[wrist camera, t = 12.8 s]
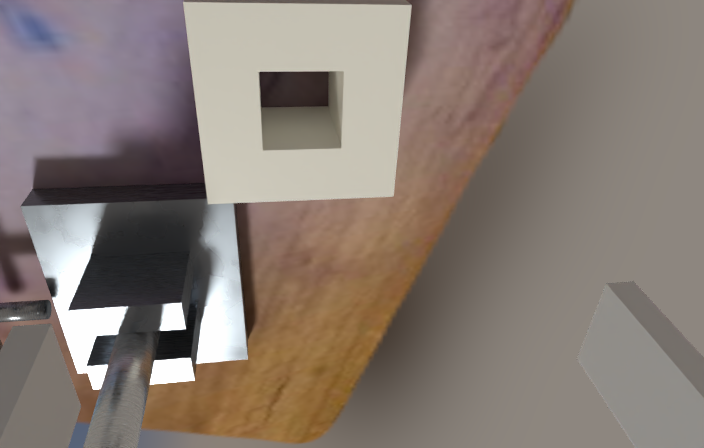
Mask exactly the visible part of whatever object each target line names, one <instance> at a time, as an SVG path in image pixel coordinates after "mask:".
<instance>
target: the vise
mask: <svg viewBox="0 0 704 448" xmlns="http://www.w3.org/2000/svg"><path fill="white" fill-rule="evenodd" d="M21 209H22V212H23V215H24V218H25V221H26V224H27V226H28V229H29V232H30V235H31V238H32V241H33V244H34V247H35V250H36V253H37V256H38V259H39V261H40V264H41V267H42V270H43V273H44V276H45V279H46V282H47V285H48V288H49V291H50V293H51V296H52V299H53V302H54V305H55V308H56V311H57V314H58V317H59V320H60V323H61V326H62V328H63V331H64V334H65V337H66V340H67V343H68V346H69V349H70V352H71V355H72V358H73V361H74V363H75V366H76V369H77V372H78V373H88V375H89V378H90V381H91V384H92V387H93V389H100V393H99V396H98V399H97V403H96V406H95V410H94V413H93V416H92V420H91V423H90V426H89V430H88V433H87V437H86V440H85V443H84V447H83V448H137V445H138V440H139V435H140V431H141V426H142V421H143V416H144V411H145V406H146V401H147V396H148V391H149V386H150V384H159V383H171V382H182V381H193V380H195V372H196V364H197V363H208V362H219V361H231V360H243V359H248V334H247V323H246V311H245V300H244V289H243V278H242V267H241V255H240V244H239V233H238V222H237V210H236V203H226V204H208V201H207V193H206V185H205V183H197V184H169V185H141V186H114V187H86V188H58V189H32V191H31V192H30V194H29V195H28V197H27V198H26V199H25V201H24V202H23V204H22V205H21ZM50 315H51V303H50V301H49V300H38V301H22V302H7V303H0V322H12V321H26V320H41V319H49V317H50ZM2 346H3V345H2V343H1V340H0V350H1V348H2Z"/></svg>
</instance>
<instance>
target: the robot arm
mask: <svg viewBox="0 0 704 448" xmlns="http://www.w3.org/2000/svg"><path fill="white" fill-rule="evenodd" d="M577 360H578V362H579V363H580V365H581V366H582V368H583V369H584V371H585V372H586V374H587V376H588V377H589V378H590V380H591V381H592V383H593V385H594V386H595V388H596V389H597V391H598V392H599V394H600V395H601V397H602V398H603V400H604V401H605V403H606V404H607V406H608V407H609V409H610V410H611V412H612V413H613V415H614V416H615V418H616V419H617V421H618V422H619V424H620V426H621V427H622V429H623V430H624V431H625V433H626V435H627V436H628V438H629V439H630V441H631V442H632V444H633V445H634V447H635V448H704V357H703V356H702V355H701V354H700V353H699V352H698V351H697V350H696V349H695V347H694V346H693V345H692V344H691V343H690V342H689V341H688V340H687V339H686V338H685V337H684V336H683V334H682V333H681V332H680V331H679V330H678V329H677V328H676V327H675V326H674V325H673V324H672V322H671V321H670V320H669V319H668V318H667V317H666V316H665V315H664V314H663V313H662V312H661V311H660V310H659V308H658V307H657V306H656V305H655V304H654V303H653V302H652V301H651V300H650V299H649V298H648V297H647V295H646V294H645V293H644V292H643V291H642V290H641V289H640V288H639V287H638V286H637V285H636V283H635V282H620V283H606V285H605V288H604V290H603V293H602V296H601V298H600V301H599V303H598V306H597V308H596V311H595V314H594V316H593V319H592V321H591V324H590V327H589V329H588V332H587V334H586V337H585V339H584V342H583V345H582V347H581V350H580V353H579V355H578V357H577ZM80 408H81V405H80V402H79V399H78V397H77V394H76V391H75V388H74V385H73V383H72V380H71V377H70V374H69V372H68V369H67V366H66V363H65V360H64V358H63V355H62V352H61V349H60V347H59V344H58V341H57V338H56V336H55V333H54V330H53V327H52V324H39V325H26V326H13V327H12V329H11V331H10V333H9V335H8V337H7V339H6V341H5V343H4V345H3V346H2V348H1V350H0V448H68V446H69V443H70V440H71V436H72V433H73V430H74V427H75V424H76V421H77V418H78V414H79V411H80Z"/></svg>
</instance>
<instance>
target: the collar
mask: <svg viewBox="0 0 704 448" xmlns="http://www.w3.org/2000/svg"><path fill="white" fill-rule="evenodd" d="M183 5H184V13H185V21H186V29H187V38H188V46H189V54H190V62H191V70H192V79H193V87H194V95H195V103H196V111H197V119H198V128H199V136H200V144H201V152H202V160H203V169H204V177H205V185H206V193H207V201H208V204H226V203H250V202H274V201H298V200H322V199H346V198H370V197H393V196H394V186H395V175H396V165H397V154H398V144H399V133H400V123H401V112H402V102H403V91H404V81H405V70H406V60H407V49H408V39H409V28H410V18H411V7H412V5H411V4H410V3H409V2H408V1H406V0H184V1H183ZM301 71H329V84H328V106H318V107H261V90H260V72H301Z"/></svg>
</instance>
